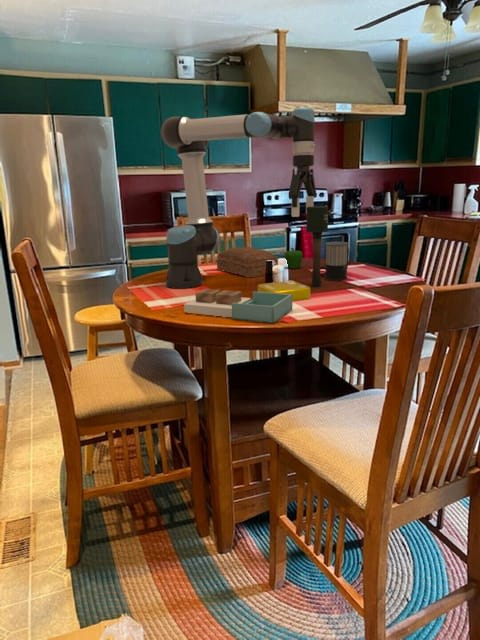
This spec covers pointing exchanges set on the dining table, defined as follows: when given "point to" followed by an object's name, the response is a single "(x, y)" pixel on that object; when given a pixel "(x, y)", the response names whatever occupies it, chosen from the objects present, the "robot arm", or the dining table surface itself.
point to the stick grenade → (317, 236)
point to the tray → (263, 307)
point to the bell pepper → (293, 258)
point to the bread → (244, 261)
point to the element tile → (287, 289)
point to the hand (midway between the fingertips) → (302, 215)
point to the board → (211, 308)
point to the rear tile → (207, 295)
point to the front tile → (228, 297)
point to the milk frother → (336, 261)
